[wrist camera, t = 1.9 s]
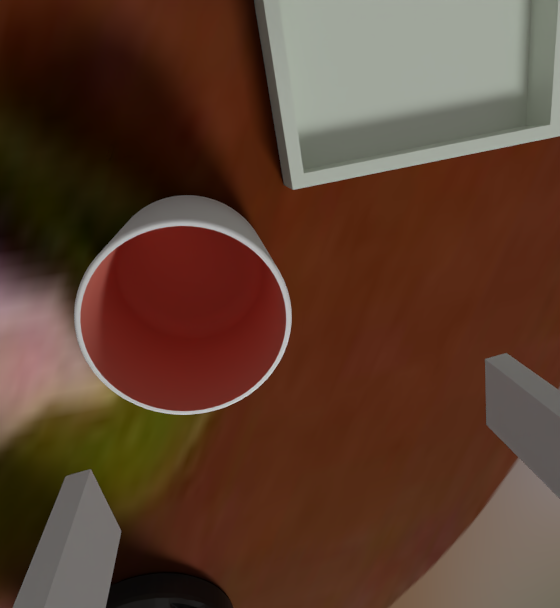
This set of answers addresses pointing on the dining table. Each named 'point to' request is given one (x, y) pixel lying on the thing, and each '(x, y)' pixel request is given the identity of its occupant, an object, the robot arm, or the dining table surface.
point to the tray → (406, 81)
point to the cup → (183, 308)
